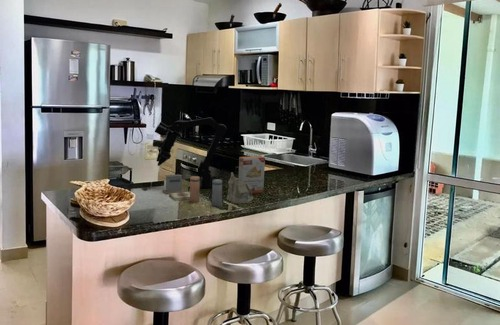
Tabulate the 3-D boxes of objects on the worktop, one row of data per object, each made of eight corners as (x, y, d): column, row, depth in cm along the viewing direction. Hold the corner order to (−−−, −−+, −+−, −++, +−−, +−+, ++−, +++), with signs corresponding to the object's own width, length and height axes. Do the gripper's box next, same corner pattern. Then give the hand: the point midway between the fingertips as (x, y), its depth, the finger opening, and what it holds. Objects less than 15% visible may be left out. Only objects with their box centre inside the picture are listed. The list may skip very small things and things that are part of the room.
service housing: (181, 190, 260) (181, 173, 258) (185, 192, 254) (185, 176, 252) (162, 191, 255) (162, 174, 253) (166, 194, 249) (166, 177, 247)
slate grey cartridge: (219, 203, 233) (220, 178, 231) (223, 206, 229) (223, 180, 227) (210, 204, 231) (211, 179, 229) (214, 206, 227) (214, 181, 225)
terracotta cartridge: (197, 199, 239) (197, 175, 237) (200, 202, 235) (201, 177, 233) (188, 200, 237) (188, 176, 235) (191, 202, 233) (192, 178, 231)
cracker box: (242, 195, 254) (243, 158, 250) (237, 192, 259) (238, 156, 256) (264, 193, 260) (265, 157, 257) (259, 190, 266) (260, 155, 262)
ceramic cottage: (233, 203, 233) (235, 175, 232) (222, 197, 248) (224, 170, 246) (260, 203, 239) (262, 175, 238) (248, 197, 254) (250, 171, 253)
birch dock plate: (190, 194, 251) (190, 191, 251) (196, 198, 241) (197, 195, 241) (169, 195, 246) (169, 193, 245) (175, 200, 236) (175, 197, 236)
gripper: (156, 130, 270) (144, 153, 271) (158, 137, 252) (145, 161, 254) (173, 139, 273) (161, 161, 275) (176, 146, 256) (163, 170, 258)
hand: (157, 163), depth 266 cm, fingers open, 9 cm apart
